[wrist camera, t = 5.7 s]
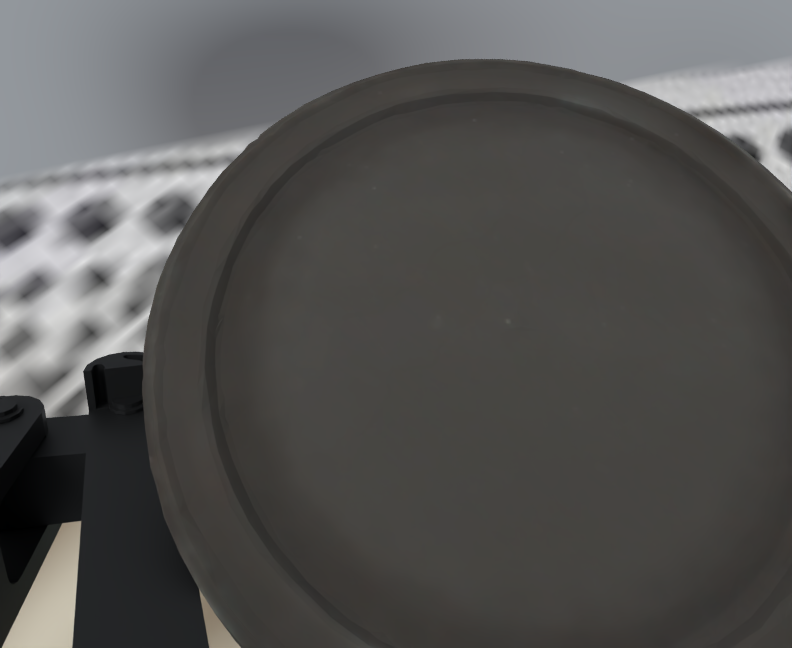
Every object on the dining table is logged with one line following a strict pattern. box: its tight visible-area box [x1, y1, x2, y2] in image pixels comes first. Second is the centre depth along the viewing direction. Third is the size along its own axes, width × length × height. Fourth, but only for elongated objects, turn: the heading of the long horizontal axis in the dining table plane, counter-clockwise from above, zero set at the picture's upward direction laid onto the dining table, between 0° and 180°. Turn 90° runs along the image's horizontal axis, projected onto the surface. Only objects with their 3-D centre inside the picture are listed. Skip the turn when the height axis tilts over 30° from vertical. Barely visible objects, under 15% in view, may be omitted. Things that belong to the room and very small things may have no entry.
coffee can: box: [142, 59, 792, 648], centre depth 13 cm, size 10×10×14 cm
